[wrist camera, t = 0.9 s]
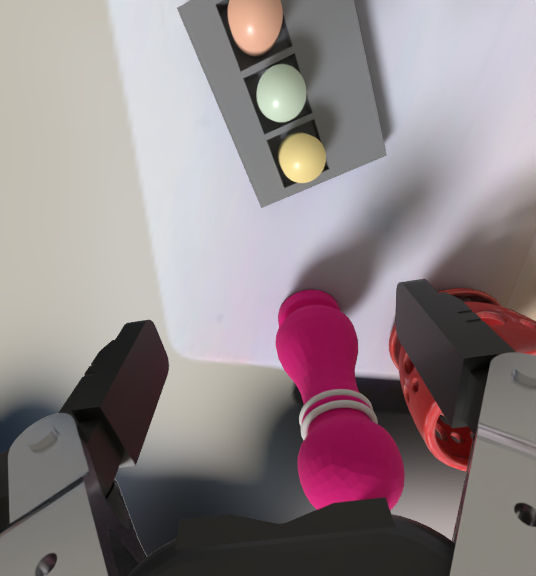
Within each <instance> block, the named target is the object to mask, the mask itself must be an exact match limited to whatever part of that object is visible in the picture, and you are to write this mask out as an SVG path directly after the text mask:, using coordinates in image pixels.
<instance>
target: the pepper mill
mask: <svg viewBox="0 0 536 576" xmlns="http://www.w3.org/2000/svg"><path fill="white" fill-rule="evenodd" d="M278 322H279V329H278V332H277V335H276V349H277V353H278V357H279V360H280V362H281V364H282V366H283V368H284V370H285V371H286V373H287V374H288V375H289V376H290V377H291V379H292V380H293V381H294V382H295V384H296V385H297V387H298V389H299V391H300V393H301V395H302V399H303V403H304V406H303V408H302V410H301V412H300V416H299V423H300V425H301V435H302V438H303V440H304V441H303V443H302V445H301V447H300V451H299V455H298V472H299V477H300V482H301V484H302V487H303V490H304V493H305V495H306V496H307V498H308V499H309V501H310V502H311V504H312V505H313V506H314V507H315V508H316V509H317V510H318V509H320V508H323V507H325V506H327V505H330V504H332V503H337V502H346V501H355V500H364V499H373V498H382V497H386V500H387V503H388V506H389V509H390V510H391V509H392V508H393V507H394V506H395V504H396V503H397V502H398V500H399V498H400V496H401V494H402V491H403V487H404V466H403V461H402V457H401V455H400V452H399V450H398V447H397V445H396V443H395V441H394V440H393V438H392V437H391V436H390V434H389V433H388V432H387V431H386V430H385V429H383V428H382V427H381V426H379V425H378V421H377V417H376V416H375V413H374V412H373V409H372V405H371V403H370V401H369V400H368V399H367V398H366V397H365V396H363V395H362V394H360V393H359V391H358V388H357V384H356V381H355V365H356V360H357V355H358V339H357V335H356V332H355V329H354V326H353V324H352V322H351V321H350V320H349V318H348V317H347V316H346V315H345V314H344V313H342V312H341V311H340V308H339V306H338V304H337V302H336V301H335V299H334V298H333V297H332V296H331V295H329V294H327V293H326V292H323V291H320V290H303V291H300V292H297V293H295V294H293V295H292V296H290V297H289V298H287V299H286V301H285V302H284V303H283V304H282V306H281V308H280V310H279V314H278Z"/></svg>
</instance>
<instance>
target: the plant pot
mask: <svg viewBox="0 0 536 576" xmlns="http://www.w3.org/2000/svg"><path fill="white" fill-rule="evenodd" d="M440 292H446V293H448V294H450V295H452V296H455V297H457V298H459V299H461V300H462V301H463V302H464V303H465V304H466V305H467V306H468V307H469V308H470V309H471V310H472V312H475V313H476V314H477V315H478V316H479V317H480V318H481V321H484V322H485V323H486V324H487V325H488V326H489V327H491V328H492V329H493V330H494V331H495V332H496V333H497V334H498V335H499V336H500V337H501V338H502V339H503V340H504V341H505V342H506V343H507V344H508V345H510V346H511V347H512V348H513V349H514V350H515V351H516V352H518V353H526V354H531V355H535V356H536V321H534V320H532V319H530V318H528V317H526V316H524V315H522V314H520V313H518V312H515V311H513V310H510V309H507V308H504V307H502V306H501V304H500V303H499V302H498V301H497V300H496V299H495V298H493V297H491V296H490V295H488V294H486V293H484V292H481V291H477V290H473V289H466V288H458V289H448V290H443V291H439V292H438V293H440ZM389 351H390V355H391V358H392V361H393V363H394V364H395V366H396V367H397V368H398V370H399V375H400V381H401V385H402V389H403V393H404V397H405V400H406V403H407V405H408V408H409V411H410V413H411V415H412V417H413V420H414V422H415V424H416V426H417V428H418V430H419V432H420V434H421V435H422V437H423V439H424V441H425V443H426V445H427V447H428V448H429V450H430V451H431V452H432V453H433V455H434V456H435V457H436V458H438V459H439V460H440V461H442V462H443V463H445V464H447V465H448V466H451V467H454V468H457V469H459V470H463V471H466V470H467V466H468V461H469V456H470V451H471V446H472V441H473V439H472V438H471V436H470V434H472V431H471V430H470V428H469V427H468V426H466V427H458V428H451V426H450V425H447V424H445V423H444V422H442V421H441V419H440V418H439V415H440V414H441V415H443V413H442V411H441V410H440V408H439V406H438V405H437V403H436V401H435V400H434V398H433V396H432V395H431V393H430V391H429V390H428V388H427V386H426V385H425V383H424V381H423V380H422V378H421V376H420V375H419V373H418V371H417V370H416V368H415V366H414V365H413V363H412V361H411V360H410V358H409V356H408V355H407V353H406V351H405V350H404V348H403V346H402V345H401V343H400V341H399V339H398V336H397V332H396V326H394V327H393V329H392V332H391V335H390V340H389ZM443 416H444V415H443ZM435 428H436V429H437V431H438V432H439V433H440V435H441V437H442V440H441V439H439V438H438V437H437V436H436V434H435ZM451 435H452V436H454V437H456V438H457V439H458V440H459V441H460V443H457V442H455V441H454V440H453V439H452V437H451Z"/></svg>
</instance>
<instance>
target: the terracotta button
mask: <svg viewBox="0 0 536 576" xmlns="http://www.w3.org/2000/svg"><path fill="white" fill-rule="evenodd" d="M282 19H283V10H282V4H281V1H280V0H230V1H229V5H228V21H229V25H230V29H231V32H232V36H233V39H234V41H235V43H236V45H237V46H238V48H239V49H240V50H241V51H242V52H243V53H245V54H246V55H249V56H252V57H259V56H263V55H265V54H266V53H268V52H269V51H270V50H271V49H272V48H273V46H274V45H275V43H276V41H277V38H278V35H279V32H280V29H281V25H282Z"/></svg>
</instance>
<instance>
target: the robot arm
mask: <svg viewBox="0 0 536 576" xmlns="http://www.w3.org/2000/svg"><path fill="white" fill-rule="evenodd" d="M395 326H396V332H397V336H398V339H399V341H400V343H401V345H402V346H403V348H404V350H405V351H406V353H407V355H408V356H409V358H410V360H411V361H412V363H413V365H414V366H415V368H416V370H417V371H418V373H419V375H420V376H421V378H422V380H423V381H424V383H425V385H426V386H427V388H428V390H429V391H430V393H431V395H432V396H433V398H434V400H435V401H436V403H437V405H438V406H439V408H440V410H441V411H442V413H443V415H444V416H445V418H446V420H447V421H448V423H449V425H450V426H451V428H458V427H466V426H468V427H469V428H470V430H471V431H472V433H473V434H474V437H473V441H472V446H471V451H470V456H469V461H468V466H467V470H466V475H465V480H464V485H463V490H462V495H461V500H460V505H459V510H458V515H457V519H456V524H455V528H454V533H453V538H452V541H451V540H449V539H448V538H447V537H445V536H444V535H442V534H440V533H439V532H437V531H435V530H433V529H432V528H430V527H428V526H426V525H423V524H421V523H419V522H417V521H414V520H411V519H408V518H405V517H402V516H397V515H392V514H391V512H390V509H389V506H388V503H387V500H386V497H382V498H373V499H364V500H355V501H346V502H337V503H332V504H330V505H327V506H325V507H323V508H320V509H318V510H316V511H313V512H311V513H308V514H306V515H304V516H301V517H299V518H297V519H294V520H292V521H289V522H287V523H284V524H276V523H270V522H265V521H260V520H255V519H250V518H245V517H240V516H235V515H220V516H211V517H202V518H193V519H184V520H180V524H179V529H178V534H177V539H175V540H173V541H171V542H169V543H167V544H166V545H164V546H162V547H160V548H159V549H157V550H156V551H155V552H153V553H152V554H150V555H149V556H148V557H147V556H146V554H145V552H144V550H143V548H142V546H141V544H140V542H139V539H138V537H137V534H136V531H135V529H134V526H133V523H132V521H131V518H130V515H129V512H128V510H127V507H126V504H125V502H124V499H123V496H122V493H121V490H120V488H119V485H118V483H117V481H116V480H115V476H116V473H117V471H118V468H120V467H128V466H136V463H137V460H138V457H139V455H140V452H141V449H142V446H143V443H144V440H145V437H146V435H147V432H148V429H149V426H150V423H151V420H152V418H153V415H154V412H155V409H156V406H157V403H158V400H159V397H160V395H161V392H162V389H163V386H164V383H165V380H166V378H167V375H168V370H169V362H168V357H167V354H166V351H165V349H164V346H163V344H162V341H161V339H160V337H159V334H158V332H157V329H156V327H155V325H154V323H153V322H152V321H151V320H144V321H137V322H131V323H126V324H125V325H124V327H123V328H122V330H121V332H120V333H119V335H118V336H117V338H116V339H115V340H112V341H111V342H110V343H109V344H108V345H107V346H105V347H104V348H103V349H102V350H101V351H100V352H99V353H98V354H97V356H96V357H95V359H94V360H93V362H92V363H91V366H90V367H89V368H88V370H87V371H86V372H85V376H84V377H82V379H81V380H80V381H79V383H78V385H77V386H76V388H75V389H74V391H73V392H72V394H71V395H70V397H69V398H68V399H67V401H66V402H65V404H64V405H63V407H62V408H61V410H60V412H59V413H58V414H54V415H50V416H48V417H45V418H43V419H41V420H39V421H38V422H36V423H34V424H33V425H31V426H30V427H29V428H27V429H26V430H25V431H24V432H23V433H22V434H21V435H20V436H19V437H18V438H17V439H16V440H15V442H14V443H13V445H12V446H11V448H10V450H8V451H5V452H2V453H0V576H536V356H535V355H531V354H526V353H518V352H516V351H515V350H514V349H513V348H512V347H511V346H510V345H508V344H507V343H506V342H505V341H504V340H503V339H502V338H501V337H500V336H499V335H498V334H497V333H496V332H495V331H494V330H493V329H492V328H491V327H489V326H488V325H487V324H486V323H485V322H484V321H481V318H480V317H479V316H478V315H477V314H476V313H475V312H472V310H471V309H470V308H469V307H468V306H467V305H466V304H465V303H464V302H463V301H462V300H461V299H459V298H457V297H455V296H452V295H450V294H448V293H446V292H440V293H438V292H437V291H436V290H435V289H434V288H433V287H432V286H431V285H430V284H429V283H428V282H427V281H426V280H425V279H420V280H413V281H406V282H400V283H398V285H397V290H396V317H395Z"/></svg>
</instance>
